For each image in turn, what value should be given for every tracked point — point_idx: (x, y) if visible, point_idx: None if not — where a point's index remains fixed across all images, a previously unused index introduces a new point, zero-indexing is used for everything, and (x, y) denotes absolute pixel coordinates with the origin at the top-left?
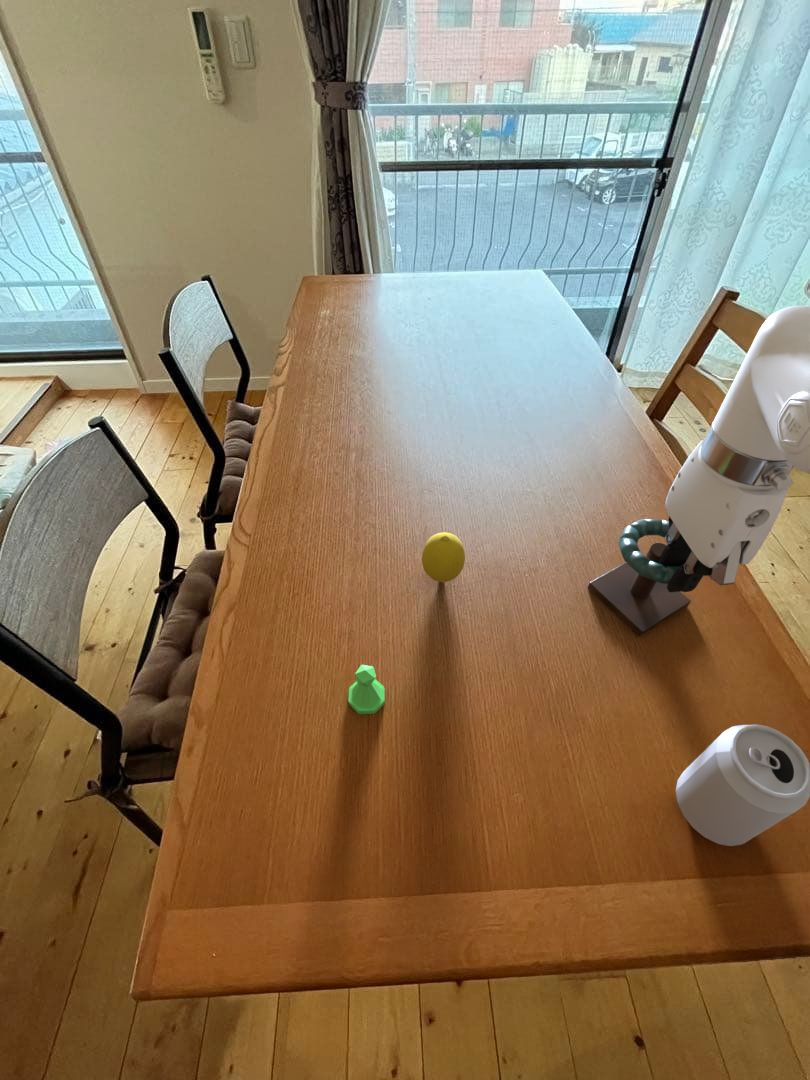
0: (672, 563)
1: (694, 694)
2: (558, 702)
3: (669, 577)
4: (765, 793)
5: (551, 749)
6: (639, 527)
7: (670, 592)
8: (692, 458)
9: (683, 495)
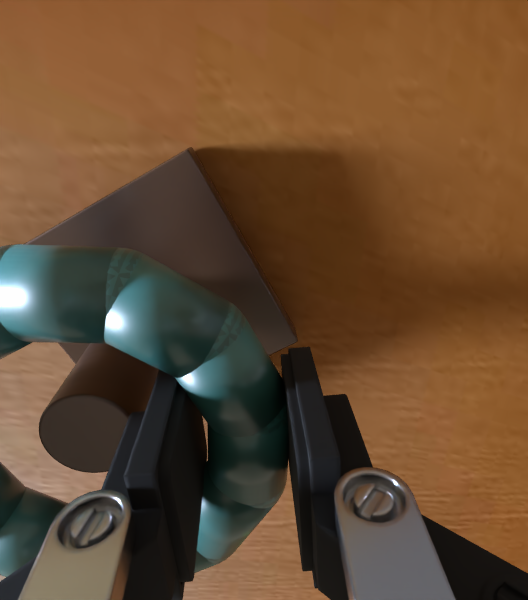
0: (197, 453)
1: (478, 251)
2: (426, 515)
3: (282, 487)
4: None
5: (507, 538)
6: None
7: (152, 209)
8: None
9: None
